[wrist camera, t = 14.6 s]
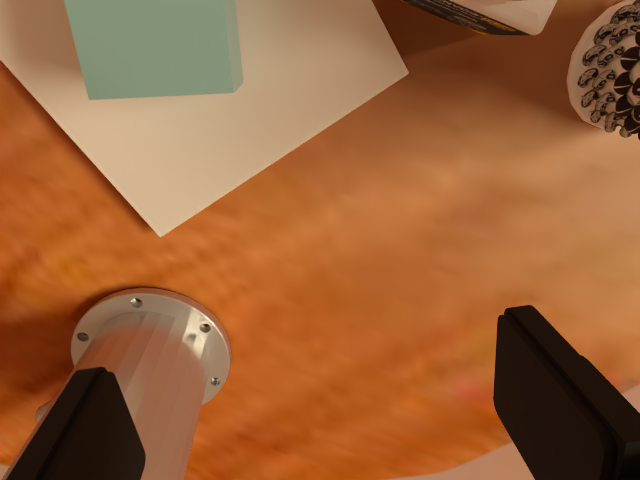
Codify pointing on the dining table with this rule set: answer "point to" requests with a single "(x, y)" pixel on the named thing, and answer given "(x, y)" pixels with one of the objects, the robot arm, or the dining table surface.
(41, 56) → the post block
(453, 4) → the medicine bottle
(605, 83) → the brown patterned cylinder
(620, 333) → the dining table surface
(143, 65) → the sage green cube
